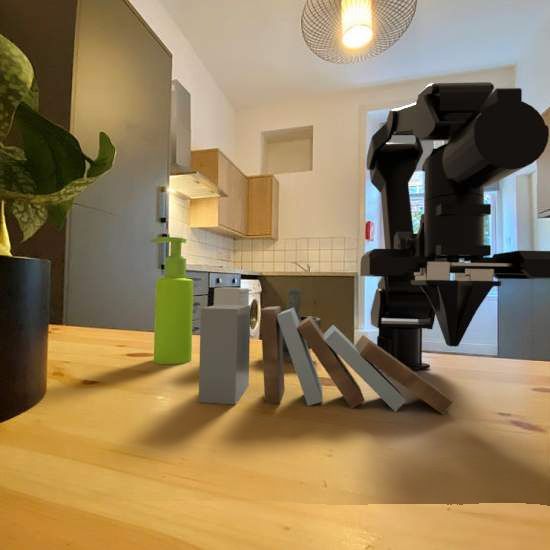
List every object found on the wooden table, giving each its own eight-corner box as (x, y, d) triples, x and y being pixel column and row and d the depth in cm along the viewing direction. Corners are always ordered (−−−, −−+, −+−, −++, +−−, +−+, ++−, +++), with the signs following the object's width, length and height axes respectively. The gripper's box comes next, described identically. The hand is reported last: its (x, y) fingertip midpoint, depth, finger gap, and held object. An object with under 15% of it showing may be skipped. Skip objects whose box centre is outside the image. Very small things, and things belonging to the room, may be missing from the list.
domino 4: (395, 386, 40) (333, 324, 41) (406, 400, 35) (334, 330, 36) (385, 395, 40) (323, 334, 41) (395, 411, 35) (324, 340, 36)
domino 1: (284, 389, 42) (280, 306, 42) (279, 403, 37) (275, 309, 37) (271, 389, 42) (267, 306, 42) (265, 403, 37) (260, 309, 37)
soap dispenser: (158, 355, 60) (161, 239, 60) (196, 357, 59) (199, 239, 59) (140, 363, 54) (144, 235, 54) (182, 365, 53) (186, 235, 53)
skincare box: (237, 366, 53) (239, 288, 54) (211, 364, 54) (213, 287, 54) (248, 357, 59) (249, 287, 60) (224, 356, 60) (226, 287, 60)
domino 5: (436, 387, 40) (362, 334, 41) (452, 402, 35) (368, 341, 36) (427, 398, 40) (354, 345, 41) (443, 414, 35) (359, 354, 36)
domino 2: (322, 387, 41) (294, 307, 42) (322, 401, 36) (290, 310, 37) (309, 391, 41) (281, 311, 42) (308, 406, 36) (276, 315, 37)
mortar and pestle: (320, 365, 55) (321, 289, 55) (261, 363, 55) (262, 288, 56) (318, 351, 66) (319, 288, 66) (269, 350, 67) (270, 287, 67)
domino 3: (359, 386, 41) (310, 315, 42) (364, 400, 36) (309, 319, 37) (347, 393, 41) (299, 322, 42) (351, 408, 36) (296, 327, 37)
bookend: (248, 385, 43) (250, 305, 44) (235, 404, 36) (237, 309, 37) (217, 383, 44) (219, 304, 44) (198, 402, 37) (200, 308, 37)
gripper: (499, 216, 45) (498, 337, 45) (353, 215, 46) (351, 332, 46) (565, 193, 34) (566, 354, 33) (371, 193, 35) (369, 348, 35)
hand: (452, 345), depth 37 cm, fingers closed
